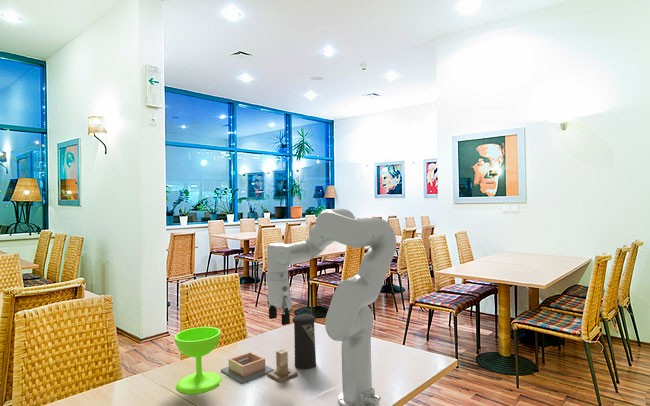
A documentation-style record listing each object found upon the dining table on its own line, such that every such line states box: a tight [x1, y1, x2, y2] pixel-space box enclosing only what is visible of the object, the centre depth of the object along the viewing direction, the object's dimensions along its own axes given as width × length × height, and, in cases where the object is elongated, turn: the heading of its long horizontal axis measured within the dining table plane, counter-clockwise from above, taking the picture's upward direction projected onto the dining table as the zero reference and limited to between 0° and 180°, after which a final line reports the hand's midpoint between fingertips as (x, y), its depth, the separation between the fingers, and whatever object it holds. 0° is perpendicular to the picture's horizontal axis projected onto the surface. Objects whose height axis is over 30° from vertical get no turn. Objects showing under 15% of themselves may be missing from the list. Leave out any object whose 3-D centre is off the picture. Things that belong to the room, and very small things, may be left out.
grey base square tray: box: [220, 351, 275, 384], centre depth 154 cm, size 15×14×5 cm
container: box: [292, 313, 317, 370], centre depth 158 cm, size 9×9×20 cm
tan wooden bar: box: [275, 349, 289, 377], centre depth 149 cm, size 3×3×9 cm
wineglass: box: [174, 326, 222, 395], centre depth 146 cm, size 16×16×18 cm
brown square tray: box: [266, 367, 298, 383], centre depth 149 cm, size 8×8×2 cm
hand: (279, 321), depth 152 cm, fingers open, 9 cm apart
